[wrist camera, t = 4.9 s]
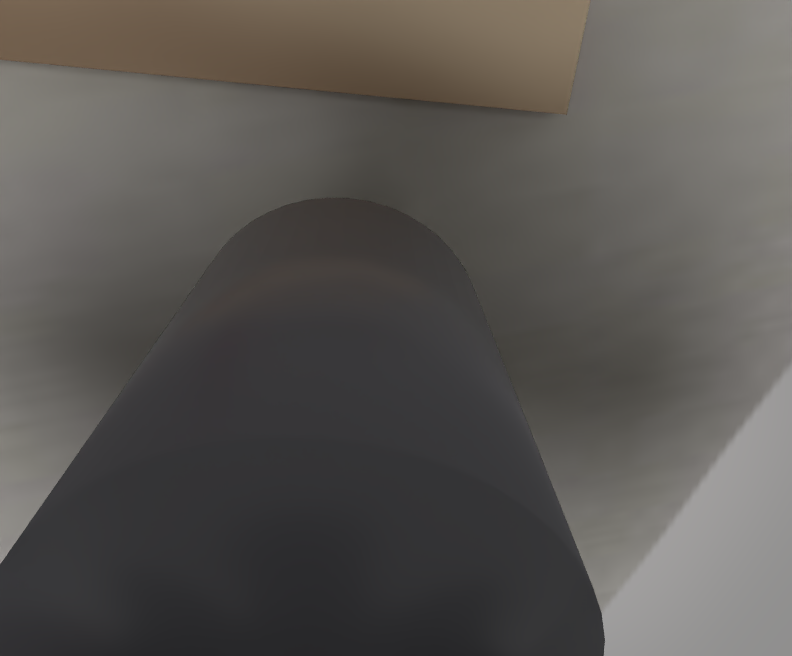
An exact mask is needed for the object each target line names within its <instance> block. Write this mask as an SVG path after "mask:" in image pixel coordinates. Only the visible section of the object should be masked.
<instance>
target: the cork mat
mask: <svg viewBox="0 0 792 656" xmlns="http://www.w3.org/2000/svg"><path fill="white" fill-rule="evenodd" d="M589 4H590V0H0V60H10V61H20V62H31V63H41V64H51V65H62V66H72V67H82V68H92V69H103V70H113V71H123V72H134V73H144V74H154V75H164V76H175V77H185V78H195V79H206V80H216V81H226V82H236V83H247V84H257V85H267V86H278V87H288V88H298V89H308V90H319V91H329V92H339V93H350V94H360V95H370V96H380V97H391V98H401V99H411V100H422V101H432V102H442V103H452V104H463V105H473V106H483V107H494V108H504V109H514V110H524V111H535V112H545V113H555V114H566V115H567V110H568V106H569V101H570V96H571V91H572V86H573V82H574V77H575V72H576V67H577V62H578V57H579V53H580V48H581V43H582V38H583V33H584V29H585V24H586V19H587V14H588V9H589Z"/></svg>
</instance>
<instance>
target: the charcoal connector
mask: <svg viewBox="0 0 792 656" xmlns="http://www.w3.org/2000/svg"><path fill="white" fill-rule="evenodd" d="M604 643H605V638H604V630H603V622H602V613H601V610H600V607H599V604H598V601H597V598H596V595H595V592H594V589H593V587H592V584H591V581H590V579H589V576H588V574H587V571H586V569H585V566H584V564H583V561H582V559H581V556H580V554H579V551H578V549H577V546H576V544H575V541H574V539H573V536H572V534H571V531H570V529H569V526H568V524H567V521H566V519H565V516H564V514H563V511H562V509H561V506H560V504H559V501H558V499H557V496H556V494H555V491H554V489H553V486H552V484H551V481H550V479H549V476H548V474H547V471H546V469H545V466H544V463H543V461H542V458H541V456H540V453H539V451H538V448H537V446H536V443H535V441H534V438H533V436H532V433H531V431H530V428H529V426H528V423H527V421H526V418H525V416H524V413H523V411H522V408H521V406H520V403H519V401H518V398H517V396H516V393H515V391H514V388H513V386H512V383H511V381H510V378H509V376H508V373H507V371H506V368H505V366H504V363H503V361H502V358H501V356H500V353H499V351H498V348H497V346H496V343H495V341H494V338H493V335H492V333H491V330H490V328H489V325H488V323H487V320H486V318H485V315H484V313H483V310H482V308H481V305H480V303H479V300H478V298H477V295H476V293H475V290H474V288H473V285H472V283H471V281H470V279H469V277H468V275H467V273H466V271H465V269H464V267H463V265H462V264H461V263H460V261H459V260H458V258H457V257H456V256H455V254H454V253H453V251H452V250H451V249H450V248H449V247H448V246H447V245H446V244H445V243H444V242H443V241H442V240H441V239H440V238H439V237H438V236H437V235H436V234H434V233H433V232H432V231H431V230H429V229H428V228H427V227H426V226H424V225H423V224H421V223H420V222H418V221H416V220H415V219H413V218H411V217H409V216H408V215H406V214H404V213H401V212H399V211H397V210H394V209H392V208H390V207H387V206H384V205H380V204H376V203H373V202H369V201H364V200H357V199H350V198H320V199H311V200H305V201H301V202H297V203H292V204H288V205H285V206H283V207H280V208H278V209H275V210H273V211H270V212H268V213H266V214H264V215H262V216H261V217H259V218H257V219H255V220H254V221H252V222H250V223H249V224H248V225H246V226H245V227H244V228H242V229H241V230H240V231H239V232H237V233H236V234H235V235H234V236H233V237H232V238H231V239H230V240H229V241H228V242H227V243H226V244H225V245H224V246H223V247H222V249H221V250H220V251H219V253H218V254H217V256H216V257H215V258H214V260H213V261H212V263H211V264H210V266H209V267H208V268H207V270H206V271H205V273H204V274H203V276H202V277H201V278H200V280H199V281H198V283H197V284H196V286H195V287H194V288H193V290H192V291H191V293H190V294H189V296H188V297H187V298H186V300H185V301H184V303H183V304H182V306H181V307H180V308H179V310H178V311H177V313H176V314H175V316H174V317H173V318H172V320H171V321H170V323H169V324H168V326H167V327H166V328H165V330H164V331H163V333H162V334H161V336H160V337H159V338H158V340H157V341H156V343H155V344H154V346H153V347H152V348H151V350H150V351H149V353H148V354H147V356H146V357H145V358H144V360H143V361H142V363H141V364H140V366H139V367H138V368H137V370H136V371H135V373H134V374H133V376H132V377H131V378H130V380H129V381H128V383H127V384H126V386H125V387H124V388H123V390H122V391H121V393H120V394H119V396H118V397H117V398H116V400H115V401H114V403H113V404H112V406H111V407H110V408H109V410H108V411H107V413H106V414H105V416H104V417H103V418H102V420H101V421H100V423H99V424H98V426H97V427H96V428H95V430H94V431H93V433H92V434H91V436H90V437H89V438H88V440H87V441H86V443H85V444H84V446H83V447H82V448H81V450H80V451H79V453H78V454H77V456H76V457H75V458H74V460H73V461H72V463H71V464H70V466H69V467H68V468H67V470H66V471H65V473H64V474H63V476H62V477H61V478H60V480H59V481H58V483H57V484H56V486H55V487H54V488H53V490H52V491H51V493H50V494H49V496H48V497H47V498H46V500H45V501H44V503H43V504H42V506H41V507H40V508H39V510H38V511H37V513H36V514H35V516H34V517H33V519H32V520H31V521H30V523H29V524H28V526H27V527H26V529H25V530H24V531H23V533H22V534H21V536H20V537H19V539H18V540H17V541H16V543H15V544H14V546H13V547H12V549H11V550H10V551H9V553H8V554H7V556H6V557H5V559H4V560H3V561H2V563H1V564H0V656H603V655H604Z"/></svg>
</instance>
